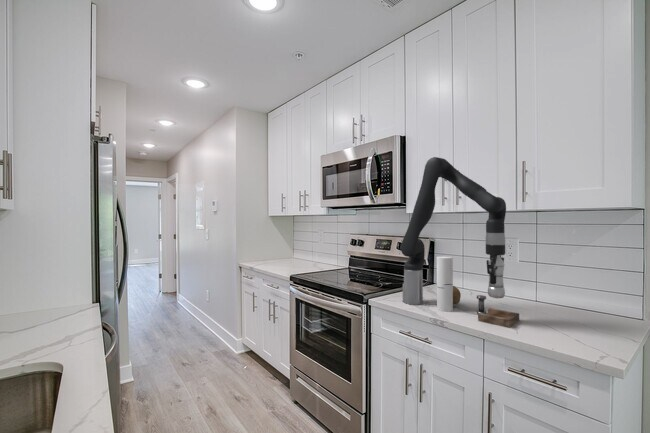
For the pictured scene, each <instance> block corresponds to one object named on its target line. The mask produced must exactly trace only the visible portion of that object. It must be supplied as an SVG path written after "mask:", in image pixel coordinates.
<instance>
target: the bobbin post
mask: <svg viewBox="0 0 650 433" xmlns="http://www.w3.org/2000/svg"><path fill="white" fill-rule="evenodd" d="M476 299H477V300H478V310H476V314H477V315H478V314H479V313H483V314H487V311H485V300H487V296H486V295H482V294H481V295H480V294H479V295H476Z"/></svg>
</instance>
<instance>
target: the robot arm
mask: <svg viewBox="0 0 650 433" xmlns="http://www.w3.org/2000/svg"><path fill="white" fill-rule="evenodd" d="M439 178H441V179H443V180H445V181H448V182H450V183H451V184H452V185H453V186H455V188H456V189H457V190H459V191H460V192H461V193H462V194H463V195H465V196H466V197H468V198H469V199H470V200H472V201H473V202H474V203H476V204H477V205H478V206H480V207H481V208H482V209H483V210H484V211H486V212H487V213H488V219H487V220H486V222H485V254H486V255H488V256H489V259H487V260H486V269H487V271H486V272H487V274H488V276H489V275H490V283H491V284H496V270H498V266H497V267H495V268H494V264H496V260H497V255H501V256H500V258H501V259H502V260H503V262H504V263H505V258H504V257H502V256H505V255H506V234H505V232H506V231H505V219H506V213H507V203H506V201H505V199H504V198H502V197H499V196H495V195H494V194H492V193H490V192H489V191H487V189H486V188H485V187H484V186H482V185H480V184H479V183H477V182H475V181H474V180H473V179H471V178H469V177H468V176H466V175H465V174H463V173H462V172H460V171H459V170H457V168H455V167H454V165H452V164H451V163H450V162H449V161H448V160H447V159H445V158H442V157H436V156H434V157H431V158H429V159H428V160H427V161H426V163H425V165H424V170H423V176H422V179H421V180H422V181H421V184H420V189H419V191H418V194H417V197H416V201H415V204H414V207H413V210H412V214H411V218H410V220H409V223H408V227H407V229H406V232H405V234H404V236H403V238H402V241H401V245H400V252H401V253H402V255H403V256H405V257H408V259H407V260H406V262H405V263H404V264H403V283H402V303H405V304H407V305H414V306H415V305H416V306H417V305H418V306H419V305H422V304H423V303H424V302H423V301H424V300H423V299H424V291H423V290H424V288H423V287H424V285H423V284H424V282H423V281H424V280H423V279H424V277H423V275H424V274H423V268H424V267H423V266H424V264H425V243H424V242H423V240H422V239H420V238H419V237H420V235H421V233H422V231H423V230H424V228H425V227H426V226H427V224H428V223H429V222H430V220H431V218H432V216H433V213H434V210H435V207H436V187H437V183H438V182H439ZM489 269H490V270H489ZM491 270H492V271H491Z"/></svg>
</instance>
